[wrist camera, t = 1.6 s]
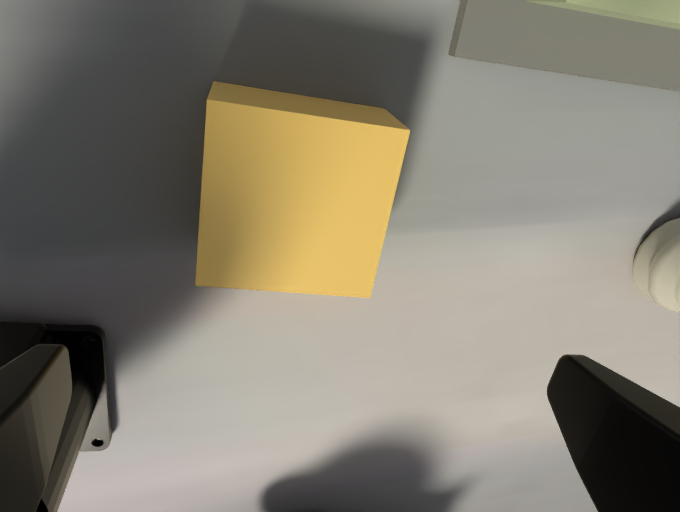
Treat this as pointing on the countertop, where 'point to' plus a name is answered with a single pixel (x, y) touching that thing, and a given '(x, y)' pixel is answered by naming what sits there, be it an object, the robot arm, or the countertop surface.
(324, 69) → the countertop surface
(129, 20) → the countertop surface
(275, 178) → the ochre brick
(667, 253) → the rook chess piece
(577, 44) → the baseplate
